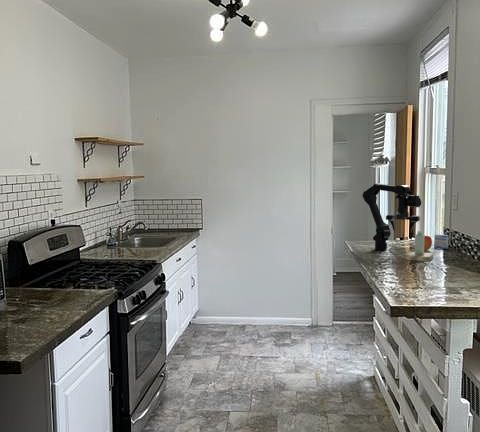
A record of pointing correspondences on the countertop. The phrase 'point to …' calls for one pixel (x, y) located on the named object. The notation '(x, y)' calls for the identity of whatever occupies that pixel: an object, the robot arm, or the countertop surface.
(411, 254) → the birch pad
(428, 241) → the apple
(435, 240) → the medicine box
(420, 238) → the sage bottle
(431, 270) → the countertop surface
